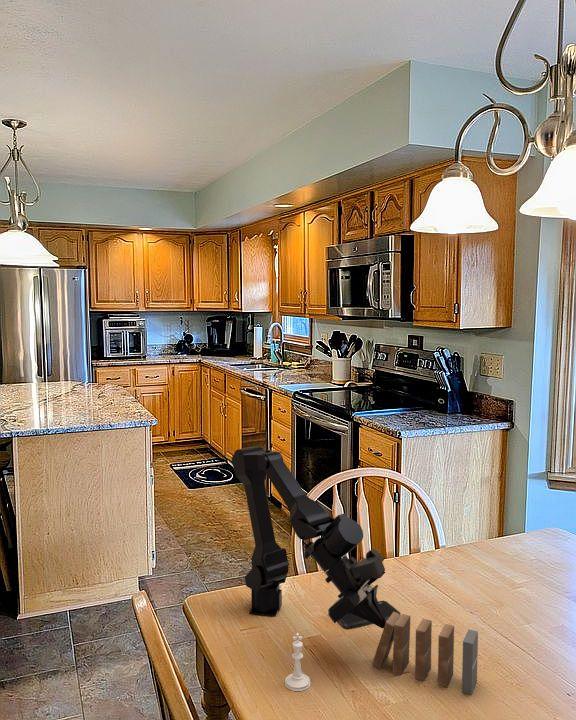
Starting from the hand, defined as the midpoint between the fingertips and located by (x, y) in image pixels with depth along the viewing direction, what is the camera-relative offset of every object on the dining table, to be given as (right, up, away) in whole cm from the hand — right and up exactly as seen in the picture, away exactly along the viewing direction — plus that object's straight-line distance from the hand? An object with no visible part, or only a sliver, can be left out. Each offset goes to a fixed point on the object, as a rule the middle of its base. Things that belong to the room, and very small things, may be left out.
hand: (385, 626), depth 125 cm
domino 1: (-1, -8, +1) cm, 8 cm away
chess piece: (-18, -9, -6) cm, 21 cm away
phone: (-1, -7, +20) cm, 21 cm away
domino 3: (+7, -8, -3) cm, 11 cm away
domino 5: (+15, -8, -7) cm, 19 cm away
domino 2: (+3, -8, -1) cm, 9 cm away
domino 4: (+11, -8, -5) cm, 15 cm away
